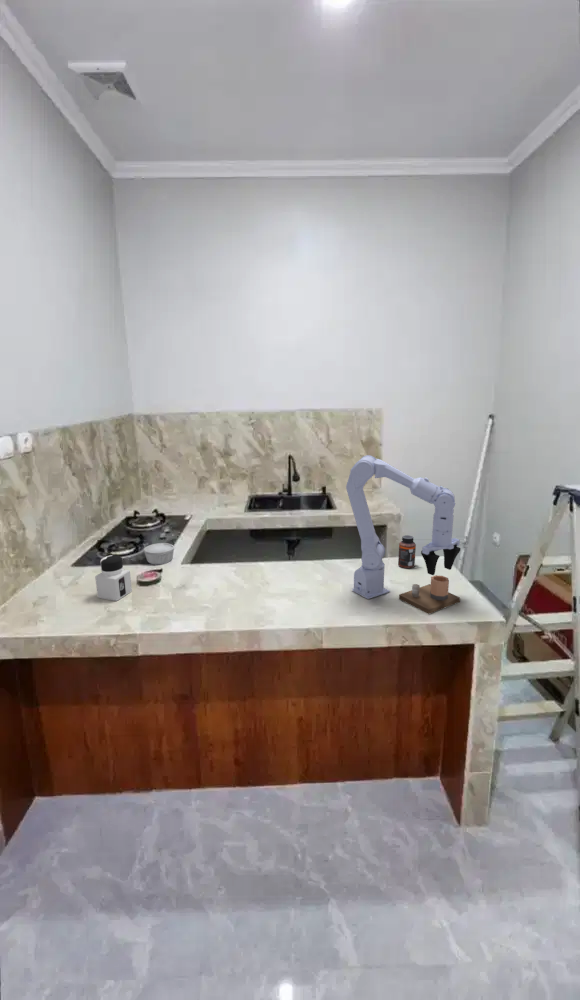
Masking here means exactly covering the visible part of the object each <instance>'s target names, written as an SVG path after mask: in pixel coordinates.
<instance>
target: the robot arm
mask: <svg viewBox="0 0 580 1000" xmlns="http://www.w3.org/2000/svg"><path fill="white" fill-rule="evenodd" d="M373 476H374V478H375V479H381V478H386V479H389V480H391V481H393V482H395V483H397V484H399V485H401V486H404V487H406V488H408V489H409V490H410V493H411V495H413V496H415V497H417V498H419V499H420V500H423V501H424V502H427V503H428V504H429V505H430V504H433V506H434V513H433V517H432V518H433V520H432V531H431V532H432V533H431V534H432V535H431V541H430V542H428V543H427V544H426V545H424V546H422V547H421V548H422V549H421V551H420V554H421V556H422V559H423V560H424V563H425V567H426V572H427V574H429V575H431V576H435V573H436V571H437V570H436V568H437V563H438V560H439V559H440V555H438V554H436V552H437V551H440V550H443V565H444V569H446V570H449V571H450V570H452V568H453V565H454V562H455V560H456V558H457V556H458V555H459V553H460V552H461V547H459V546H460V543H461V542H460V541H461V540H460V539H458V538H456V537H453V527H454V508H455V507H456V499H455V494H454V493H453V491H452V490H451V489H450V488H447V487H444V486H442V485H440V486H439V485H437V484H436V483H433V482H431V481H429V480H430V479H429V478H428V477H426V476H425V477H421V476H420V477H416V478H415V477H412V476H411V475H409V474H407V473H405V472H404V471H402V470H400V469H398V468H396V467H395V466H393V465H391V464H389V463H388V462H386V461H385V460H382V459H380V458H376V457H374V456H372V455H369V454H367V455H363V456H362V457H361V458H360V459H359V460H357V461H356V462H355V463H354V465H353V466H352V467H351V469H350V472H349V476H348V480H347V482H346V485H345V489H346V492H347V495H348V499H349V502H350V503H349V504H350V506H351V509H352V512H353V516H354V521H355V524H356V527H357V530H358V534H359V537H360V550H361V565H360V567H359V568H357V569H355V570H354V573H353V588H352V589H351V591H353V592H354V593H356V594H358V595H360V596H361V597H364V598H365V599H366V600H369V599H372V598H376V597H378V596H382V595H384V594H387V593H390V589H387V588H385V587H384V586H385V563H384V561H383V558H384V557H385V554H386V548H385V546H384V545H383V544H382V543H381V541H380V538H379V536H378V535H377V533H376V530H375V526H374V523H373V519H372V516H371V511H370V508H369V506H368V501H367V498H366V495H365V491H364V486H365V485H366V483H368V481H369V480H370V479H371V478H372V477H373Z"/></svg>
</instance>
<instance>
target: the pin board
mask: <svg viewBox="0 0 580 1000" xmlns="http://www.w3.org/2000/svg"><path fill="white" fill-rule="evenodd" d="M411 585H412V586H411V587H412V588H411V590H408V591H406V592H402V593H400V594H398V600H400V601H402V602H404V603H406V604H408V605H410V606H412V607H414V608H415V609H418V610H420V611H422V612H424V613H425V614H427V615H430V614H433V613H436V612H438V611H440V610H443V609H445V607H446V608H449V607H452V606H453V605H455V603H456V604H458V603H460V602H461V597H460V596H458V595H456V594H453V593H451V592H449V591H448V599H446V600H443V601H442V600H435V599H433V598H431V597H430V587H431V583H428V584H427V585H422V586H421V585H420V584H418V583H413V584H411Z"/></svg>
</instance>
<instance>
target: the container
mask: <svg viewBox="0 0 580 1000" xmlns="http://www.w3.org/2000/svg"><path fill="white" fill-rule="evenodd" d="M123 566H124V564H123V557H122V556H120V555H117V554H112V555H111V554H110V555H107V556H104V557H102V558H101V559H100V571H101V572H100V573H99V574H97V575H95V585H96V594H97V598H98V599H102V600H109V601H113V602H118V601H120V600H121V599H122V598H124V597H126V596H127V595H128V594H130V593H132V591H133V588H132V579H131V578H132V577H131V570H130V569H124V567H123Z"/></svg>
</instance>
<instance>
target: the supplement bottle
mask: <svg viewBox="0 0 580 1000" xmlns="http://www.w3.org/2000/svg"><path fill="white" fill-rule="evenodd" d="M398 545H399V546H398V558H397V559H398V560H397V562H398V564H397V565H398V566H399V567H400V568H402V569H412V568H414V567H415V564H416V549H417V548H416V547H417V544H416V543H415V542H414V536H413V535H408V534H407V535H402V538H401V541H400V542H399V543H398Z"/></svg>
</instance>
